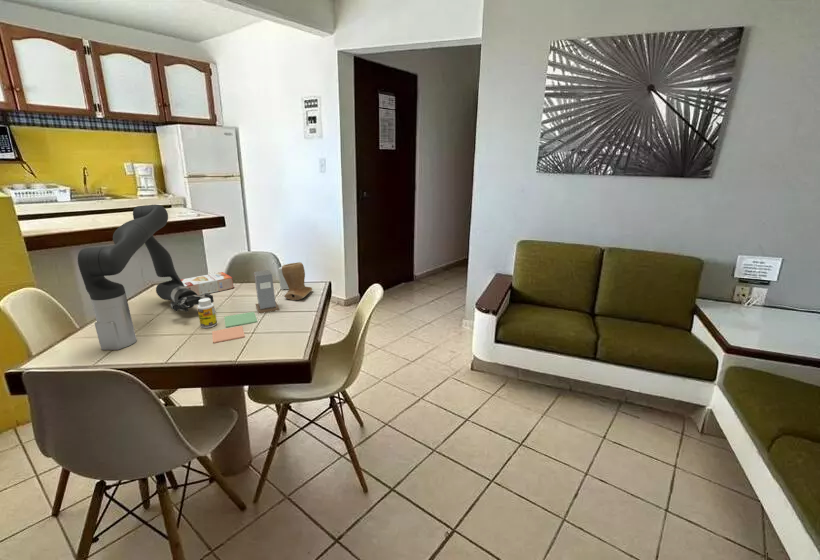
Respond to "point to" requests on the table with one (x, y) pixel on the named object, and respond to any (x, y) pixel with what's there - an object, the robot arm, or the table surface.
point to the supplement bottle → (206, 313)
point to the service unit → (265, 292)
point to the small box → (282, 280)
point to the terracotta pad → (228, 334)
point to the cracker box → (209, 283)
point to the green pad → (240, 319)
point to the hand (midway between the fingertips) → (199, 306)
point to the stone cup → (295, 281)
